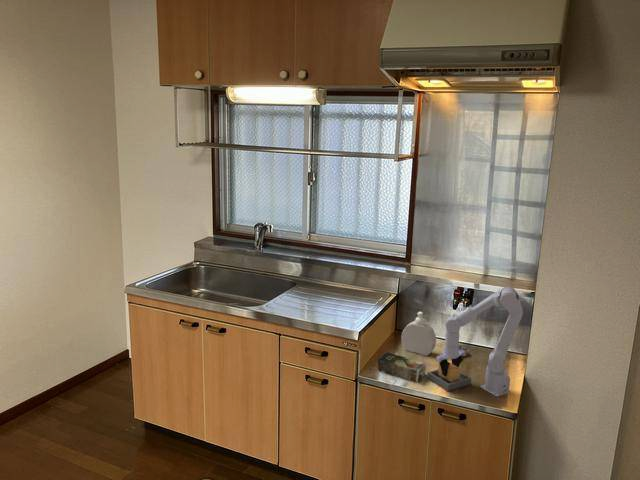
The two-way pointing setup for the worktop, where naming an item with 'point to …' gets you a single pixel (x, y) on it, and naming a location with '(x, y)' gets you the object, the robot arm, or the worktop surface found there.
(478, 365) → the worktop surface
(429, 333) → the soap bottle
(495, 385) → the robot arm
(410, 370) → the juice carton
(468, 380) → the charcoal bin
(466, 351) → the egg carton
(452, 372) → the orange crate
